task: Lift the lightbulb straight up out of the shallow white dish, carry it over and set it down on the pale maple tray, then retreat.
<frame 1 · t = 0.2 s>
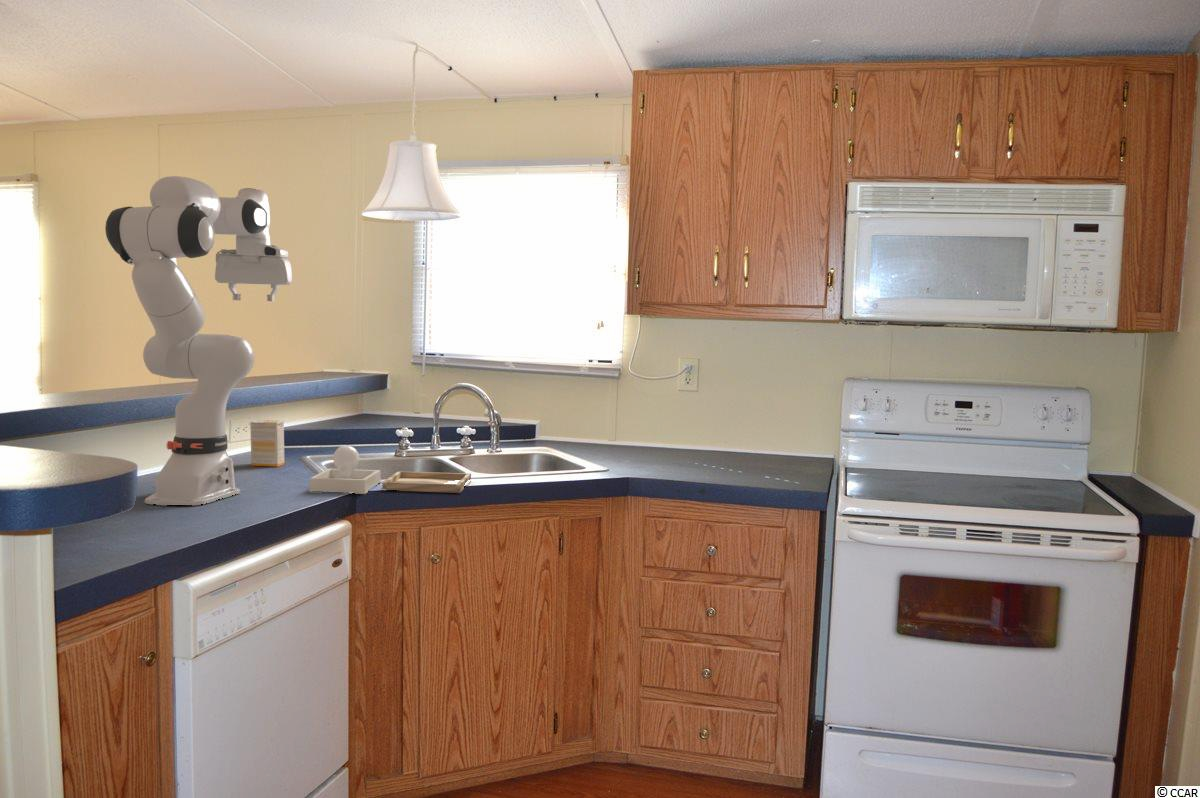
hand: (253, 300, 239), 48 cm above the countertop, fingers open, 8 cm apart
shallow white dish: (346, 487, 224), on the countertop
supplement box: (267, 466, 253), on the countertop
lightbulb: (346, 488, 224), resting in shallow white dish
tray: (428, 485, 230), on the countertop
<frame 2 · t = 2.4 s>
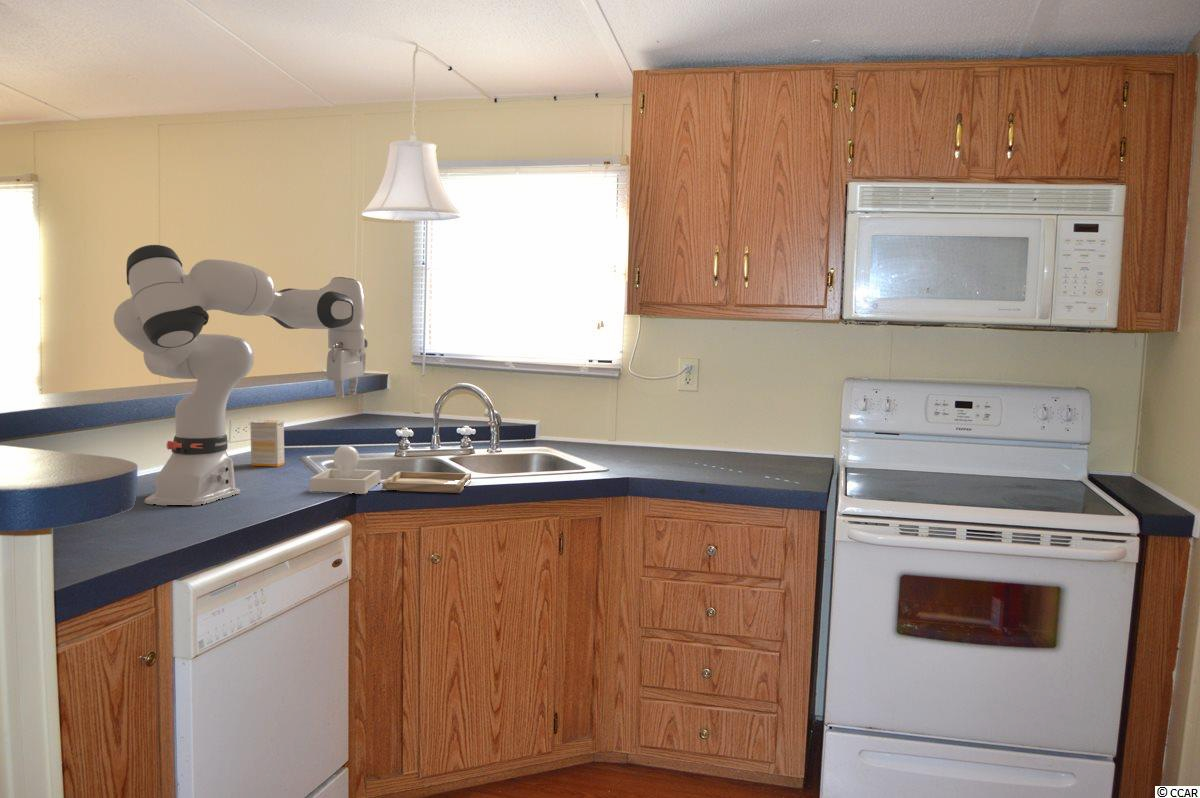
hand: (346, 396, 222), 24 cm above the countertop, fingers open, 8 cm apart
nothing on the countertop moved.
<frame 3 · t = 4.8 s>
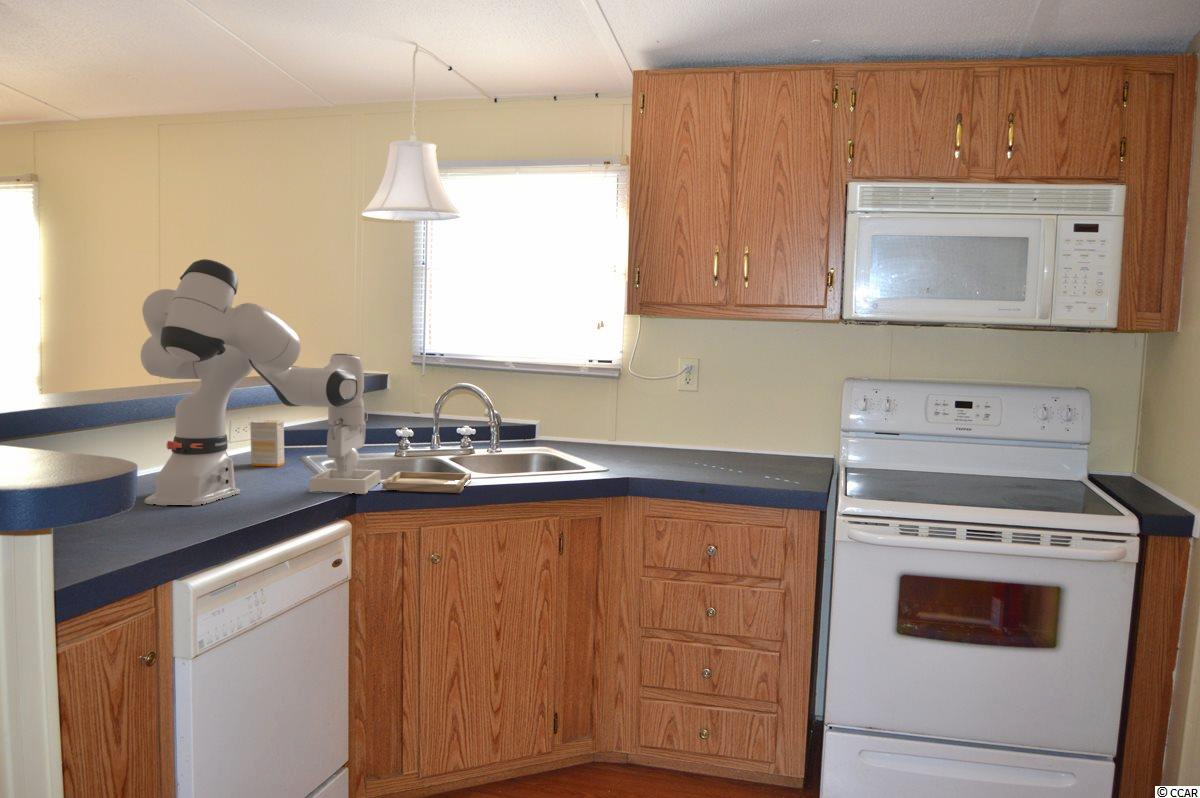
hand: (346, 469, 224), 5 cm above the countertop, fingers closed on lightbulb, 6 cm apart
lightbulb: (346, 488, 224), resting in shallow white dish, touching gripper
everything else where it was.
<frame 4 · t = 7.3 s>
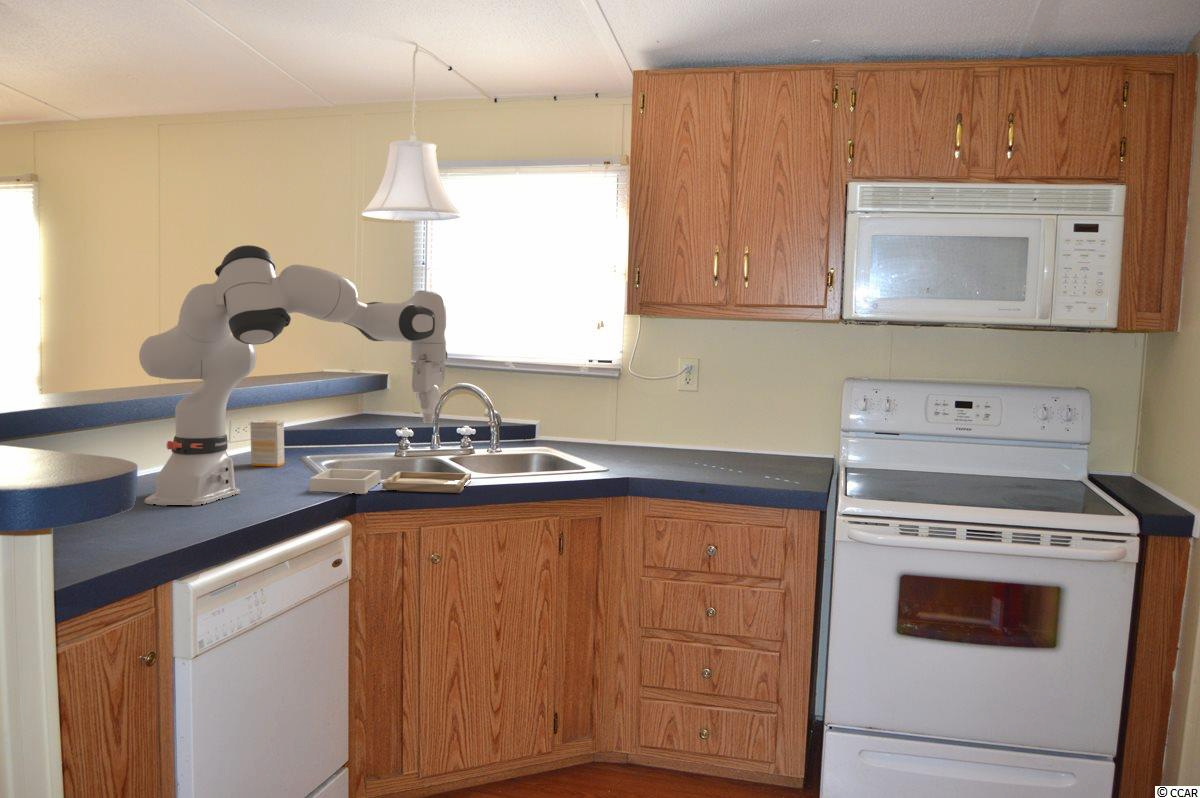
hand: (428, 406, 227), 21 cm above the countertop, fingers closed on lightbulb, 6 cm apart
lightbulb: (428, 425, 227), point 16 cm above the countertop, touching gripper
everything else where it was.
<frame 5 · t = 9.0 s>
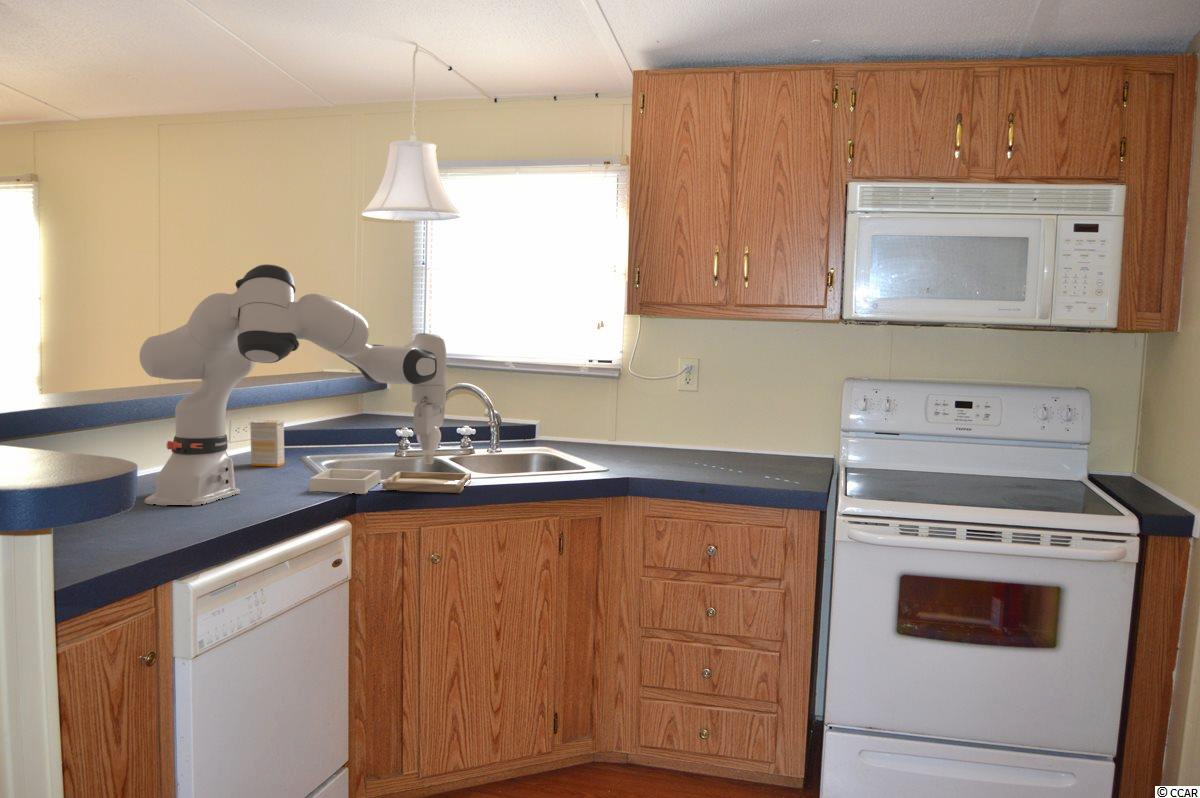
hand: (428, 447, 229), 10 cm above the countertop, fingers closed on lightbulb, 6 cm apart
lightbulb: (428, 465, 229), point 5 cm above the countertop, touching gripper
everything else where it was.
when the fingers open (6 cm above the countertop, at t = 10.3 s): lightbulb moves 1 cm, resting on tray.
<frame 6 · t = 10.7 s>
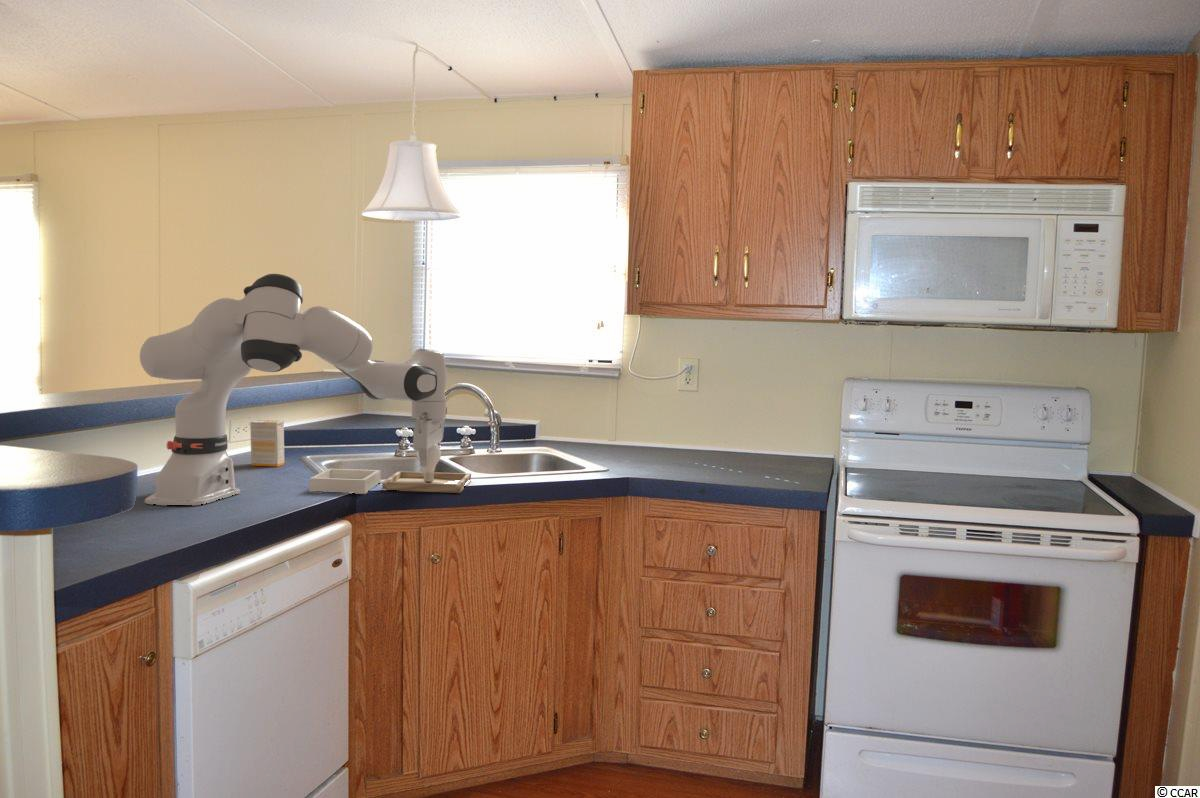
hand: (428, 462, 229), 6 cm above the countertop, fingers open, 8 cm apart
lightbulb: (428, 483, 230), resting on tray
everything else where it was.
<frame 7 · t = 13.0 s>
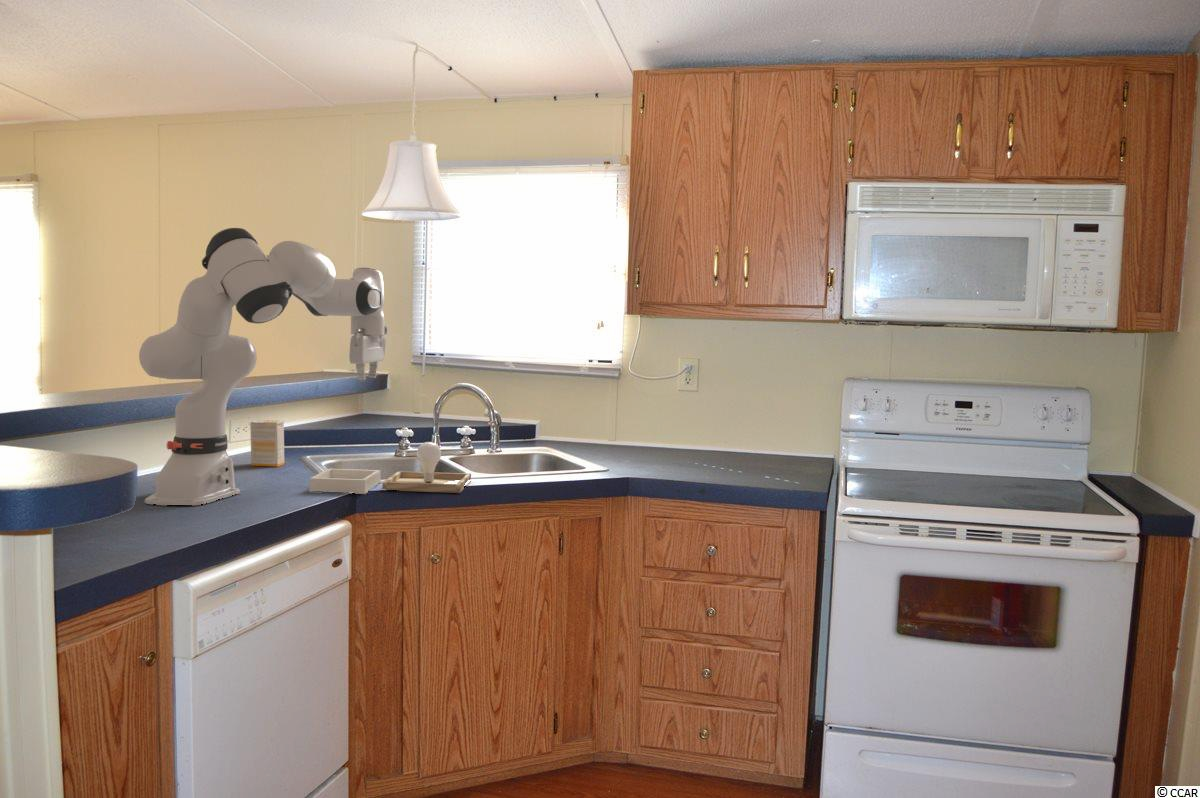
hand: (367, 378, 238), 27 cm above the countertop, fingers open, 8 cm apart
nothing on the countertop moved.
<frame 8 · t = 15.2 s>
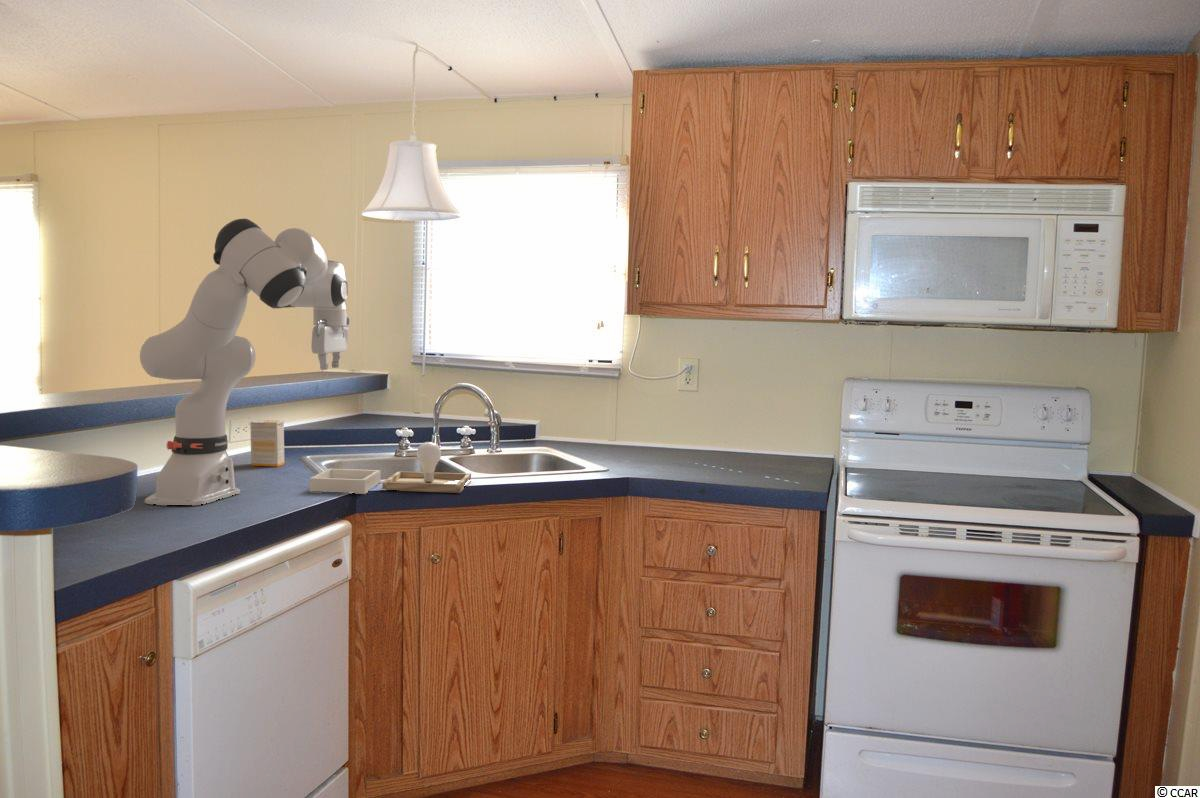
hand: (329, 368, 245), 29 cm above the countertop, fingers open, 8 cm apart
nothing on the countertop moved.
at the end: lightbulb inside the target area on the tray (0.6 cm from its centre), point 0.4 cm above the tray's base; the gripper is holding nothing; lightbulb touching tray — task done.
